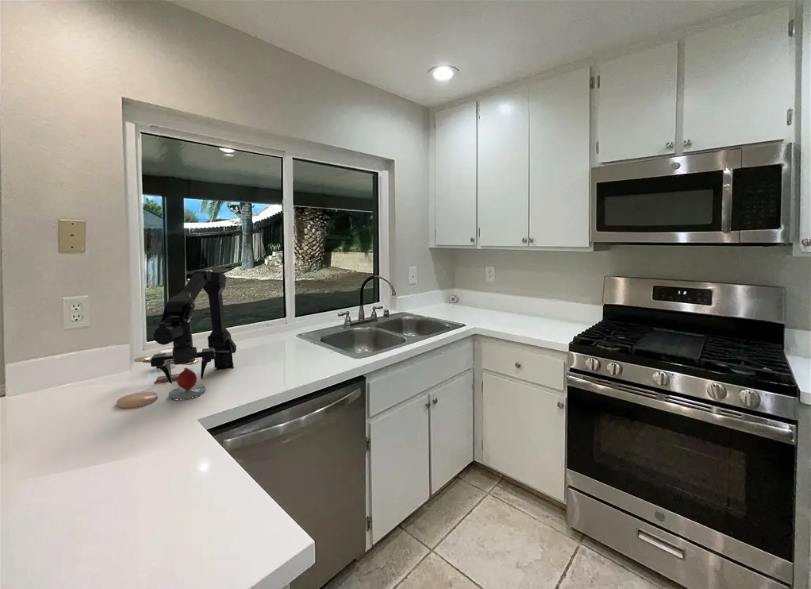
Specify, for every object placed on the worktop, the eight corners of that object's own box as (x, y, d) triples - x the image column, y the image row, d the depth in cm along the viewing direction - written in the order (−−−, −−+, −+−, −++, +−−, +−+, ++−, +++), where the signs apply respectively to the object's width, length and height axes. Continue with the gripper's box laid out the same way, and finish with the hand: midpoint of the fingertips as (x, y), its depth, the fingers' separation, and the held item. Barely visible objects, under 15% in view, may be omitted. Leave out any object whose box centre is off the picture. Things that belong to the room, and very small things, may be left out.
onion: (192, 386, 138) (190, 363, 137) (200, 389, 135) (199, 367, 134) (174, 390, 133) (173, 367, 132) (183, 394, 130) (182, 371, 129)
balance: (200, 373, 154) (198, 350, 153) (199, 377, 150) (197, 353, 148) (138, 381, 146) (135, 357, 145) (135, 386, 141) (132, 361, 140)
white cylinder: (170, 370, 159) (168, 353, 158) (155, 369, 160) (153, 352, 159) (182, 364, 166) (181, 348, 164) (168, 363, 167) (167, 347, 166)
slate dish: (206, 385, 142) (206, 382, 141) (205, 396, 132) (204, 393, 131) (171, 390, 137) (171, 387, 137) (167, 402, 127) (166, 399, 127)
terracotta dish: (159, 392, 136) (159, 389, 135) (154, 404, 126) (154, 401, 125) (121, 398, 131) (121, 394, 131) (112, 411, 121) (112, 407, 121)
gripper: (145, 346, 120) (150, 394, 123) (212, 338, 128) (216, 384, 130) (151, 337, 130) (156, 382, 133) (213, 331, 138) (217, 374, 140)
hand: (186, 381), depth 134 cm, fingers open, 9 cm apart
